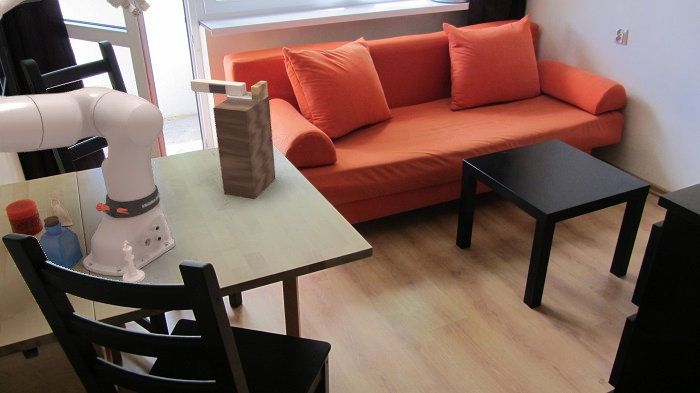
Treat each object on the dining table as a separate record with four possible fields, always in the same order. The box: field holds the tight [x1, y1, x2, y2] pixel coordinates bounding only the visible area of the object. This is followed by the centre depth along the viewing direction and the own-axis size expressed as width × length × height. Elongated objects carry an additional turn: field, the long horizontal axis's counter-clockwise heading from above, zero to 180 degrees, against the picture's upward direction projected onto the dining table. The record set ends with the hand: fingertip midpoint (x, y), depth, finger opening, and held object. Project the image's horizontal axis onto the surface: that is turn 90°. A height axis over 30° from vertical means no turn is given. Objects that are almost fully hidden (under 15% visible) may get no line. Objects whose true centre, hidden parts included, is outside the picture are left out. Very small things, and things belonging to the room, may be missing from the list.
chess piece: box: [122, 241, 146, 283], centre depth 127 cm, size 5×5×10 cm
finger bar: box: [190, 78, 248, 96], centre depth 162 cm, size 3×16×3 cm, turn 71°
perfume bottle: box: [38, 215, 84, 270], centre depth 132 cm, size 6×6×12 cm
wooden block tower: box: [212, 80, 276, 200], centre depth 163 cm, size 14×10×31 cm
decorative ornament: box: [50, 198, 74, 227], centre depth 152 cm, size 4×8×5 cm, turn 30°
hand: (143, 12), depth 139 cm, fingers open, 8 cm apart
